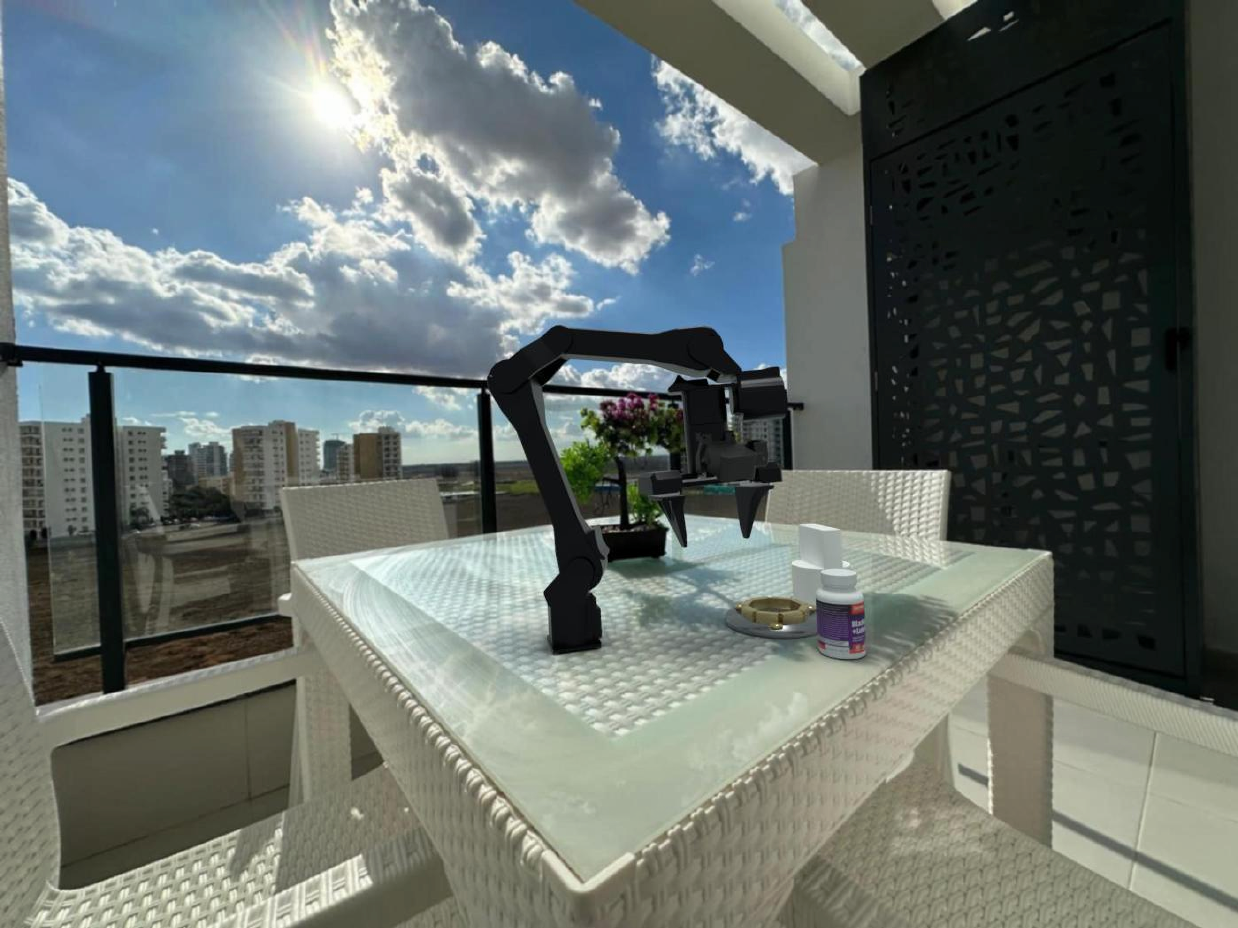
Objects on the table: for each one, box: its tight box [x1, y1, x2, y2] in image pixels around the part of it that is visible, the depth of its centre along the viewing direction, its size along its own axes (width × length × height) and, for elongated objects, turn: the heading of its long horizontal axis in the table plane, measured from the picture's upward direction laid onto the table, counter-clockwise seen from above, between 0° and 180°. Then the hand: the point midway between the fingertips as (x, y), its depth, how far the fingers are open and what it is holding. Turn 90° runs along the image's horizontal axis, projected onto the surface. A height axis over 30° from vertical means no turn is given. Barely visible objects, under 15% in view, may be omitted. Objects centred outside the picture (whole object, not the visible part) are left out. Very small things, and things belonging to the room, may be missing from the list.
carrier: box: [725, 595, 818, 640], centre depth 75 cm, size 14×14×2 cm
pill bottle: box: [816, 569, 867, 660], centre depth 63 cm, size 5×5×10 cm
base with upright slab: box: [791, 523, 851, 606], centre depth 85 cm, size 9×9×12 cm
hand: (715, 542), depth 69 cm, fingers open, 9 cm apart
